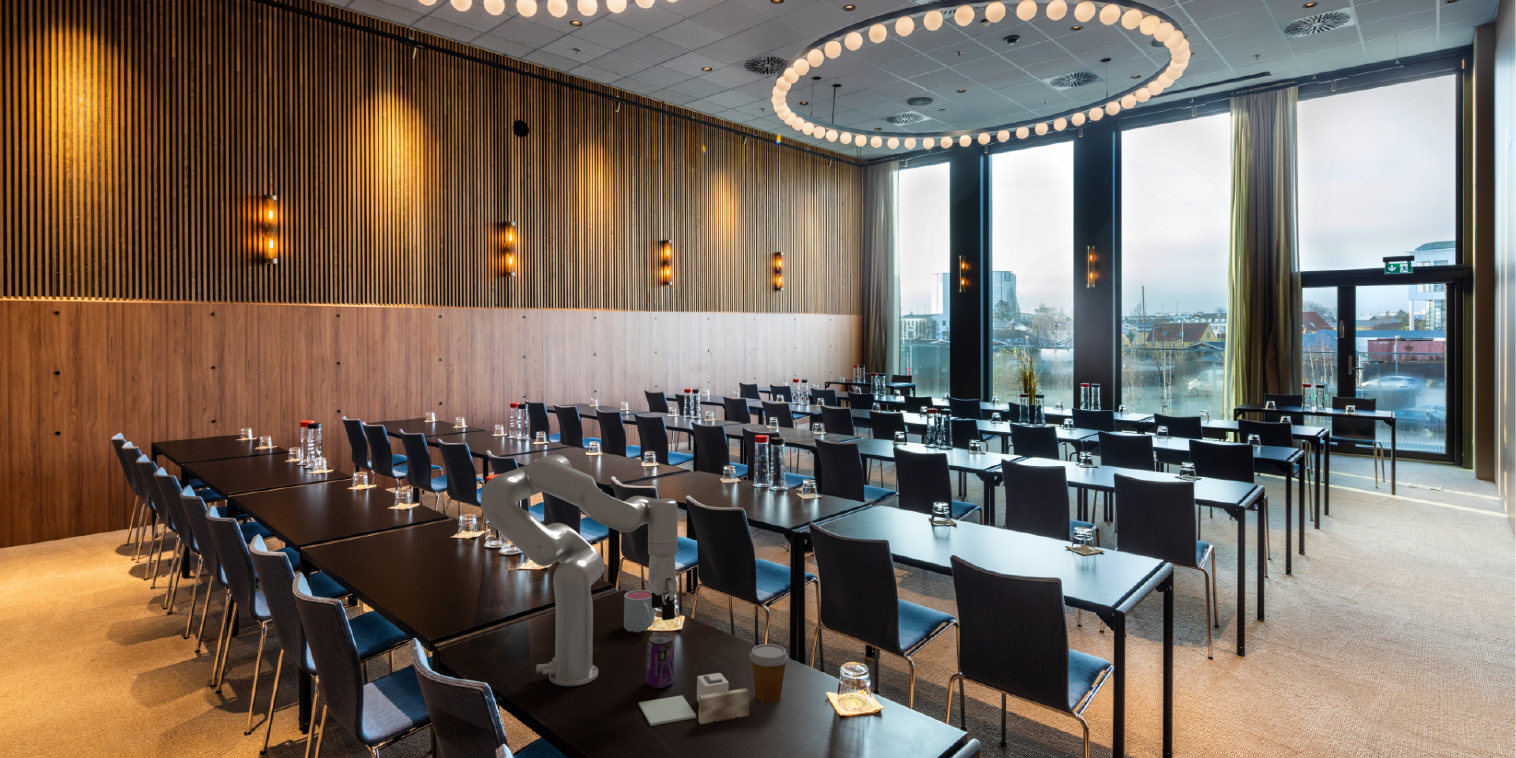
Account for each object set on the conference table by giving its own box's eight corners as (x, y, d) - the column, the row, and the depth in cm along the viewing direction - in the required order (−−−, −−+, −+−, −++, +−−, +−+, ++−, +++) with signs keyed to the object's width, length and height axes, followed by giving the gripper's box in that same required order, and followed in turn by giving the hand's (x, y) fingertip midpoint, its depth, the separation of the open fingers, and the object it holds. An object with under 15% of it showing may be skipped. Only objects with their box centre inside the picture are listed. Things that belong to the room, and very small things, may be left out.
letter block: (704, 710, 184) (705, 685, 183) (696, 700, 189) (697, 675, 189) (728, 706, 186) (728, 681, 186) (719, 696, 191) (720, 671, 191)
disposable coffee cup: (774, 710, 185) (775, 661, 184) (741, 700, 190) (742, 652, 189) (793, 695, 193) (795, 648, 192) (761, 686, 198) (762, 640, 197)
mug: (620, 623, 240) (621, 592, 239) (649, 619, 244) (649, 588, 243) (632, 639, 227) (633, 605, 227) (662, 634, 231) (663, 602, 231)
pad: (650, 725, 176) (650, 723, 176) (638, 704, 186) (638, 702, 186) (696, 717, 180) (696, 715, 180) (682, 697, 190) (682, 695, 190)
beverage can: (668, 691, 194) (669, 644, 193) (642, 688, 195) (643, 641, 195) (677, 679, 201) (678, 634, 200) (651, 676, 202) (652, 631, 201)
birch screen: (700, 724, 177) (701, 698, 177) (698, 721, 179) (699, 695, 178) (748, 715, 182) (749, 690, 182) (746, 712, 183) (746, 687, 183)
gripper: (640, 540, 203) (640, 604, 203) (657, 557, 187) (657, 626, 188) (667, 538, 206) (667, 601, 206) (687, 554, 190) (687, 622, 190)
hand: (662, 613), depth 197 cm, fingers open, 9 cm apart
